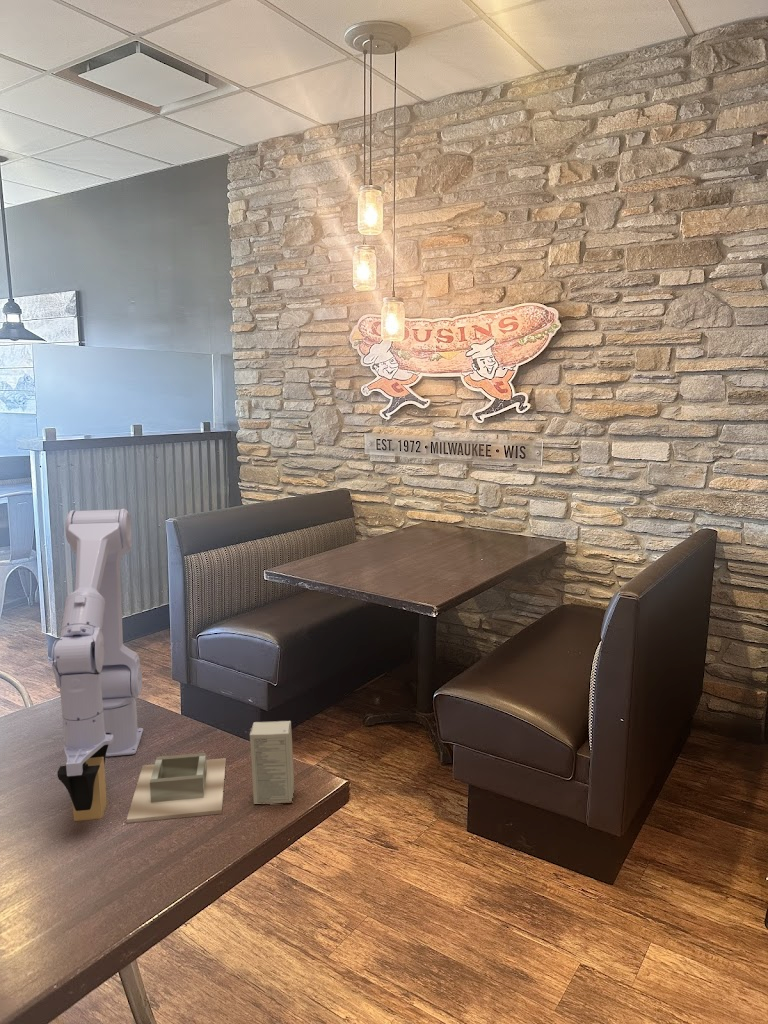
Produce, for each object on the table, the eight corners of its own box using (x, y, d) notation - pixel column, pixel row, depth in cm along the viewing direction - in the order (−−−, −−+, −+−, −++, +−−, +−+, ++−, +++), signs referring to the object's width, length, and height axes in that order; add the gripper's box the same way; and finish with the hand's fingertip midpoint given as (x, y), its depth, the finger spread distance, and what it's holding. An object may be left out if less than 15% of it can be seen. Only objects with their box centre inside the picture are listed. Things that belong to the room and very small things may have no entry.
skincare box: (294, 789, 118) (292, 720, 116) (292, 805, 114) (290, 733, 112) (255, 790, 118) (253, 720, 116) (251, 806, 113) (249, 734, 111)
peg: (80, 806, 114) (76, 759, 112) (106, 803, 114) (103, 756, 113) (74, 821, 110) (69, 772, 108) (101, 818, 110) (98, 770, 109)
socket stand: (143, 768, 125) (141, 746, 124) (226, 761, 127) (225, 740, 126) (126, 823, 109) (125, 798, 108) (221, 813, 111) (220, 789, 111)
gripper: (100, 732, 103) (107, 819, 105) (119, 690, 117) (124, 768, 119) (47, 736, 102) (55, 824, 104) (73, 694, 116) (79, 772, 118)
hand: (89, 795), depth 111 cm, fingers open, 7 cm apart
